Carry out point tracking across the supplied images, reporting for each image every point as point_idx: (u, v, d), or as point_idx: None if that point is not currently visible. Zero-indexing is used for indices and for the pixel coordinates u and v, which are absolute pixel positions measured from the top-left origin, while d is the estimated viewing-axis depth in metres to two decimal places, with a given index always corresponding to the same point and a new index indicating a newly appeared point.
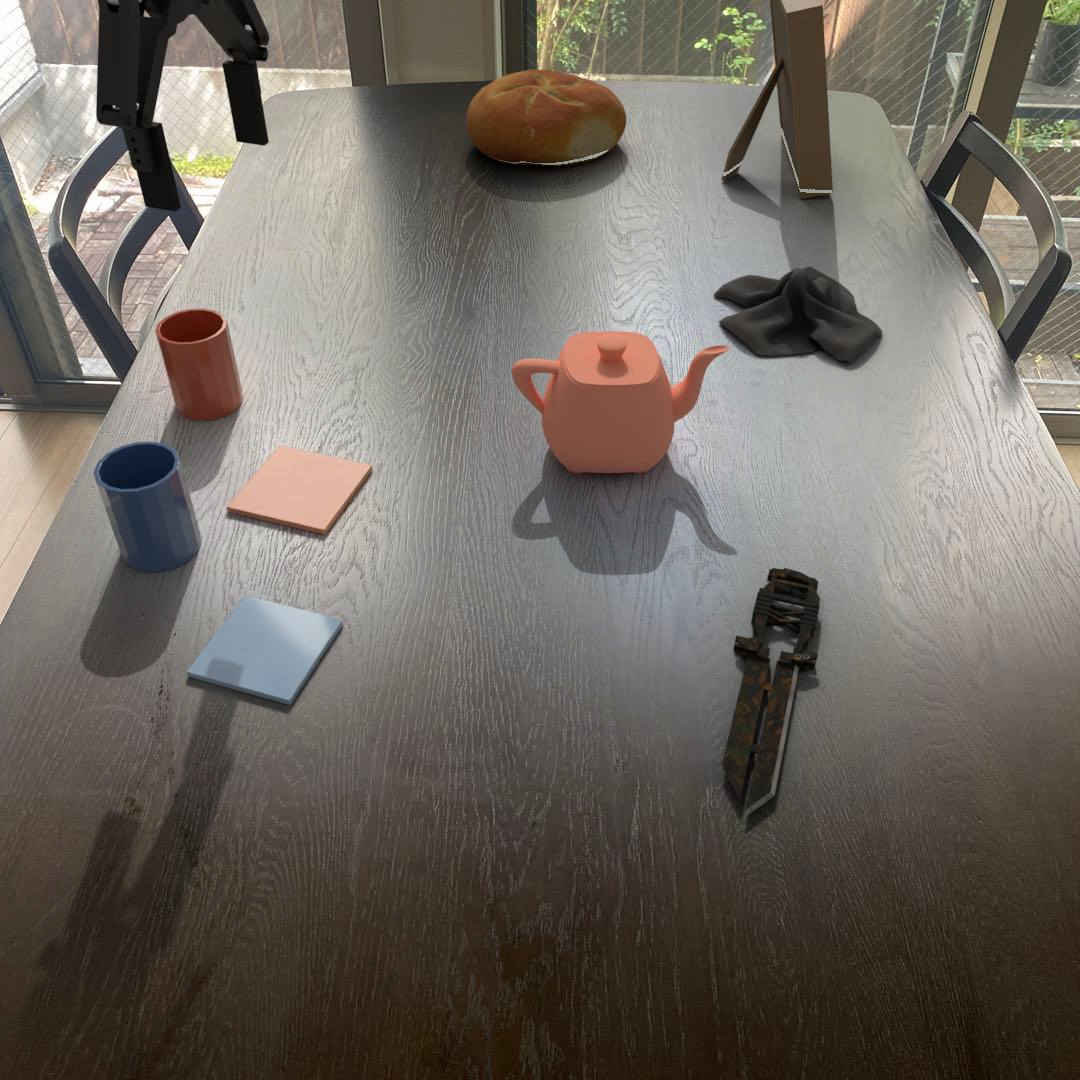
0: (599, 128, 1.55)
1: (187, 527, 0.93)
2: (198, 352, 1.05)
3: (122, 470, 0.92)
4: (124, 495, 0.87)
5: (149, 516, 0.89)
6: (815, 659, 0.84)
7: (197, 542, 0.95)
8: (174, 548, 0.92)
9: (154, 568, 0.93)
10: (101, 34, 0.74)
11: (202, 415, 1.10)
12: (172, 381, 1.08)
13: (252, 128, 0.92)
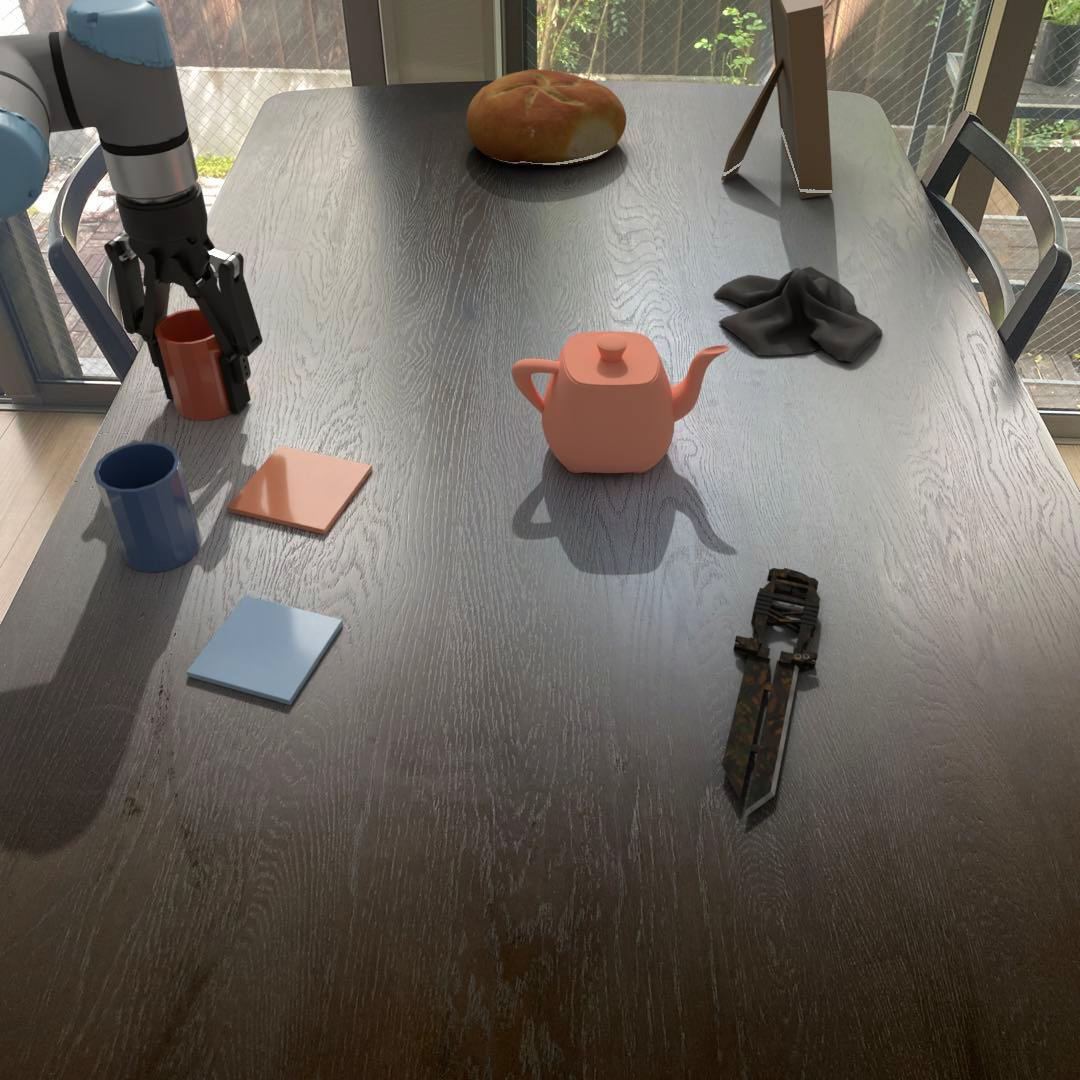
0: (599, 128, 1.55)
1: (187, 527, 0.93)
2: (197, 352, 1.05)
3: (122, 470, 0.92)
4: (124, 495, 0.87)
5: (149, 516, 0.89)
6: (815, 658, 0.84)
7: (197, 542, 0.95)
8: (174, 548, 0.92)
9: (154, 568, 0.93)
10: (236, 301, 1.01)
11: (202, 415, 1.10)
12: (172, 381, 1.08)
13: None
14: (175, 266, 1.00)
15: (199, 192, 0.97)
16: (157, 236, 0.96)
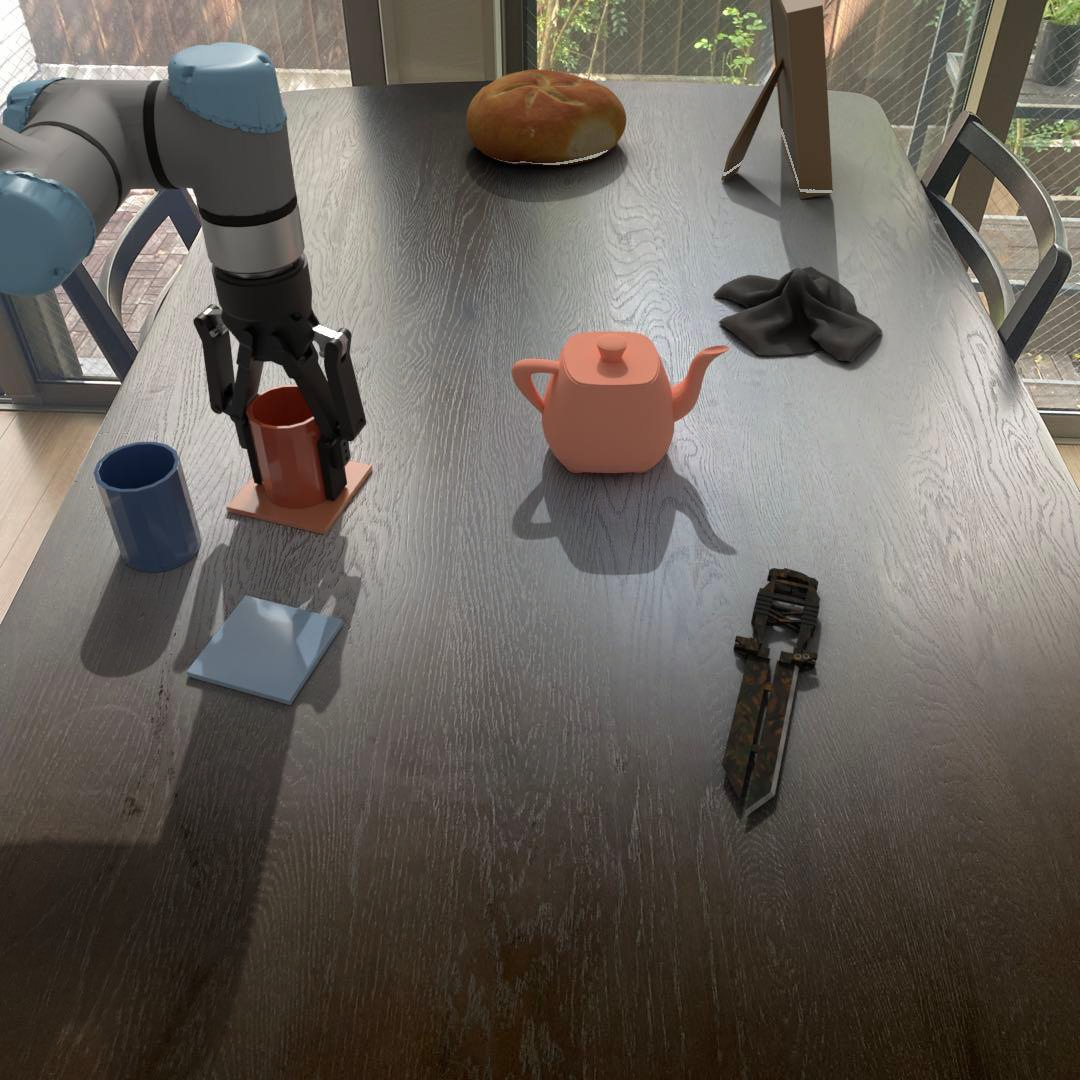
0: (599, 128, 1.55)
1: (187, 527, 0.93)
2: (295, 437, 0.93)
3: (122, 470, 0.92)
4: (124, 495, 0.87)
5: (149, 516, 0.89)
6: (815, 658, 0.84)
7: (197, 542, 0.95)
8: (174, 548, 0.92)
9: (154, 568, 0.93)
10: (342, 383, 0.90)
11: (296, 503, 0.98)
12: (264, 467, 0.96)
13: None
14: (276, 344, 0.88)
15: (305, 263, 0.86)
16: (259, 314, 0.85)
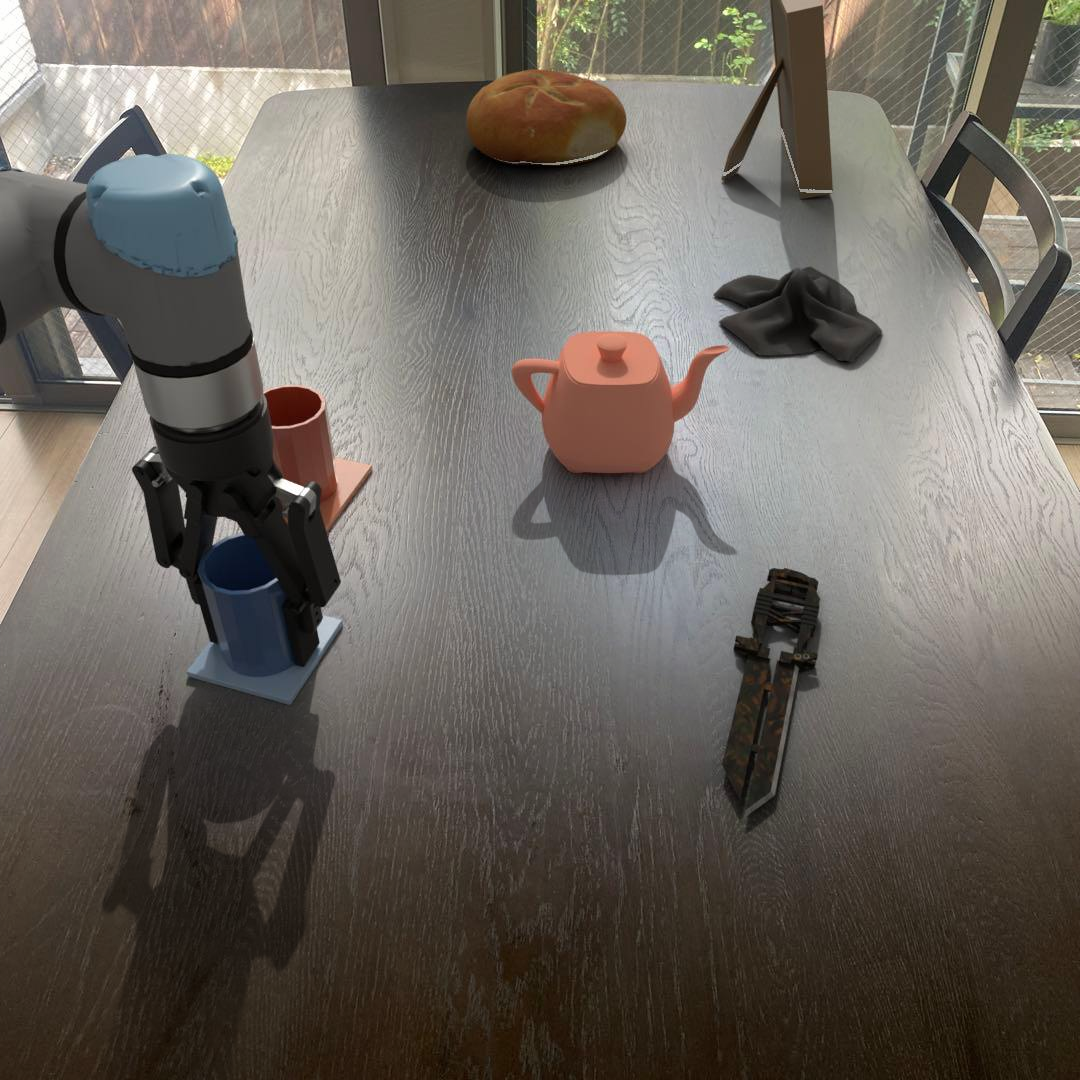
0: (599, 128, 1.55)
1: None
2: (296, 437, 0.93)
3: (225, 563, 0.83)
4: (234, 598, 0.78)
5: (260, 619, 0.80)
6: (815, 658, 0.84)
7: None
8: (283, 651, 0.83)
9: (260, 672, 0.83)
10: (310, 545, 0.75)
11: None
12: None
13: None
14: (230, 503, 0.73)
15: (264, 409, 0.71)
16: (207, 473, 0.70)
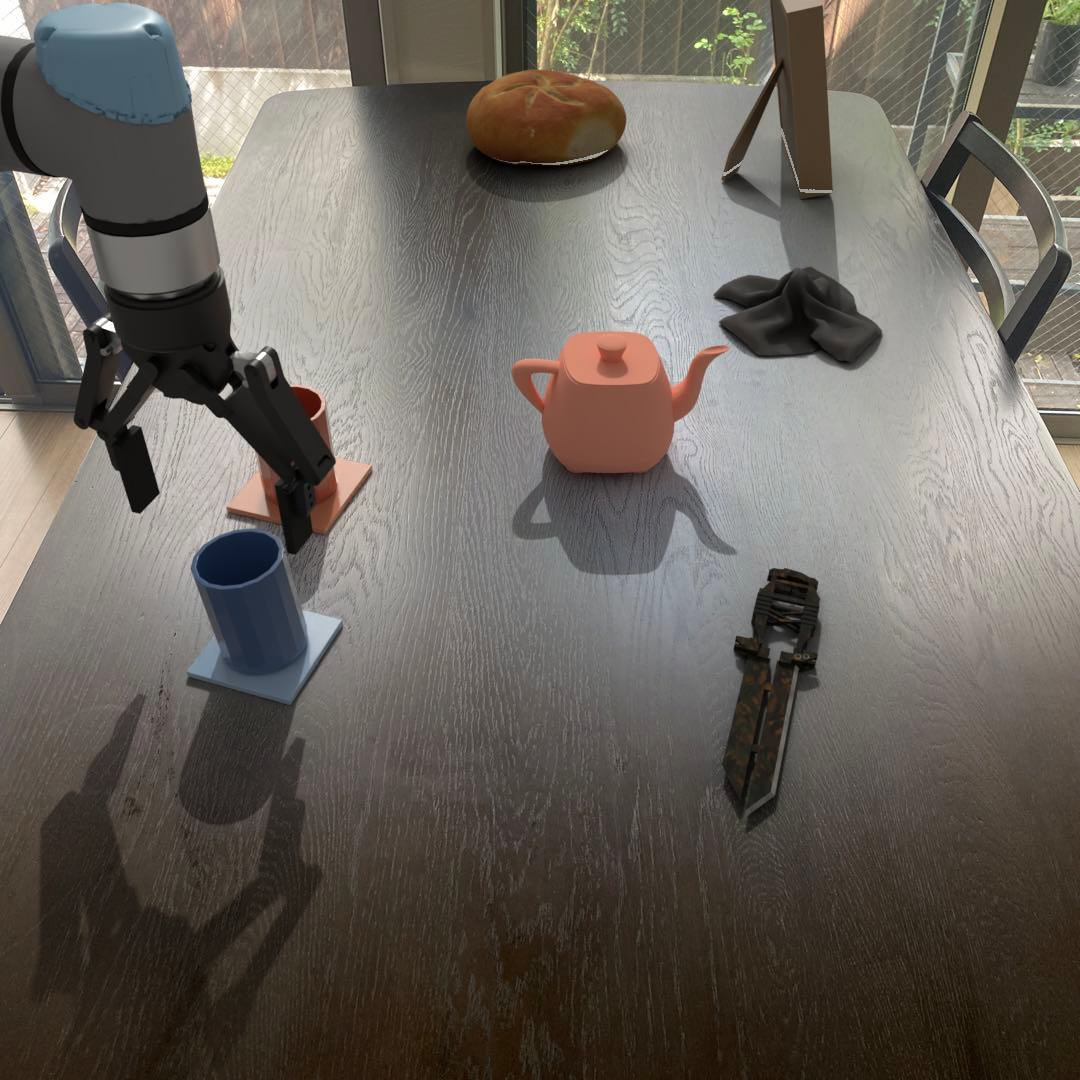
0: (599, 128, 1.55)
1: (294, 622, 0.83)
2: None
3: (220, 562, 0.83)
4: (226, 593, 0.78)
5: (254, 614, 0.79)
6: (815, 658, 0.84)
7: (304, 636, 0.85)
8: (281, 646, 0.82)
9: (260, 669, 0.83)
10: (280, 413, 0.73)
11: None
12: (264, 467, 0.96)
13: (149, 486, 0.84)
14: (186, 379, 0.72)
15: (221, 281, 0.70)
16: (161, 344, 0.69)
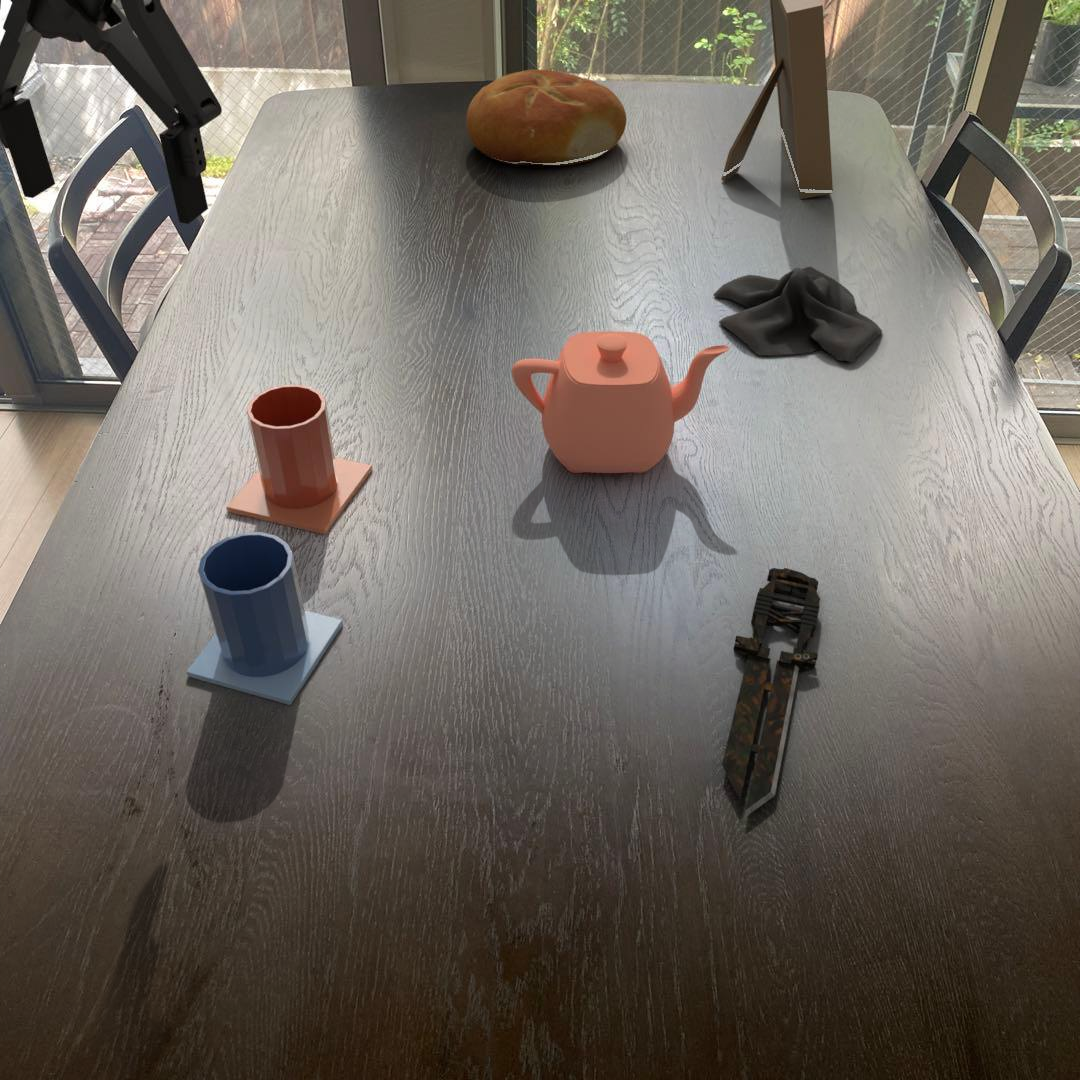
0: (599, 128, 1.55)
1: (298, 627, 0.83)
2: (296, 437, 0.93)
3: (226, 563, 0.83)
4: (235, 598, 0.78)
5: (260, 619, 0.80)
6: (815, 658, 0.84)
7: (306, 641, 0.85)
8: (284, 651, 0.83)
9: (261, 673, 0.83)
10: (157, 39, 0.71)
11: (296, 503, 0.98)
12: (264, 467, 0.96)
13: (42, 171, 0.83)
14: (59, 2, 0.70)
15: None
16: None
